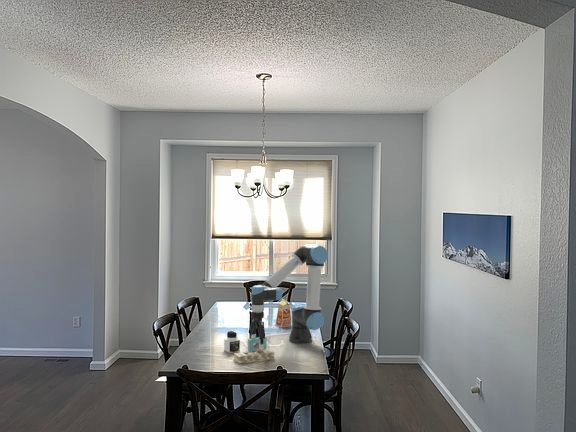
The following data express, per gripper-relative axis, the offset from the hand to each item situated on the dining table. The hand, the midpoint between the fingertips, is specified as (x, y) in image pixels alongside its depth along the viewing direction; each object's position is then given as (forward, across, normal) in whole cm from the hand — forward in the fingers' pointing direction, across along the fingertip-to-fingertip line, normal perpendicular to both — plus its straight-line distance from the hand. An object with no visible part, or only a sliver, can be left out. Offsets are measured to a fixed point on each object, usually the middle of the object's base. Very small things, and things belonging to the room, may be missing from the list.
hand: (257, 347), depth 331 cm
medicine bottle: (+3, -9, -13) cm, 16 cm away
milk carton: (+3, -60, +48) cm, 77 cm away
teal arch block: (+3, 0, 0) cm, 3 cm away
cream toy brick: (+3, +14, -8) cm, 16 cm away
